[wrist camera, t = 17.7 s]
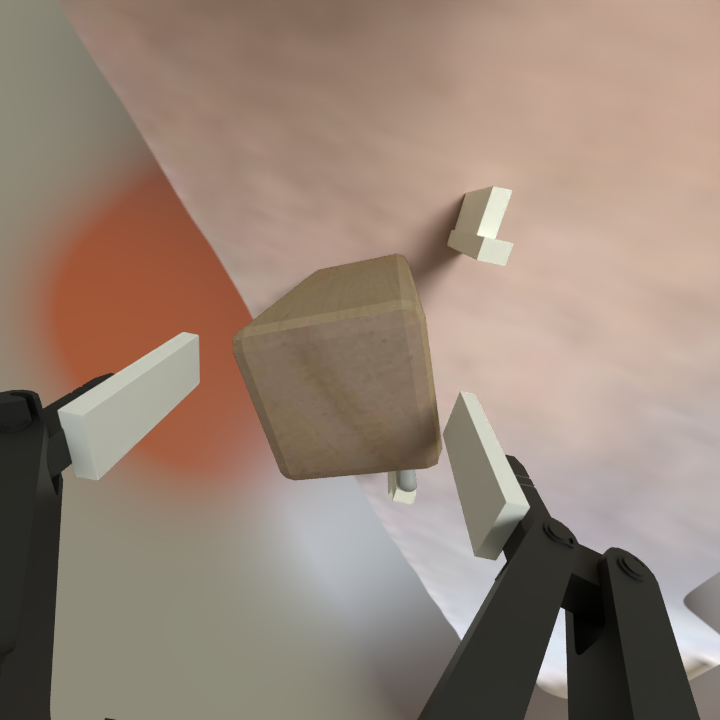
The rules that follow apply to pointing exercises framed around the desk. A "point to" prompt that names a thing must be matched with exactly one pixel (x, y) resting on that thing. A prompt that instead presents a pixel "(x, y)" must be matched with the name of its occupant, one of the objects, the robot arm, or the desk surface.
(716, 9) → the desk surface
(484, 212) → the l-shaped block
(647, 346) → the desk surface
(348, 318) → the wooden block
